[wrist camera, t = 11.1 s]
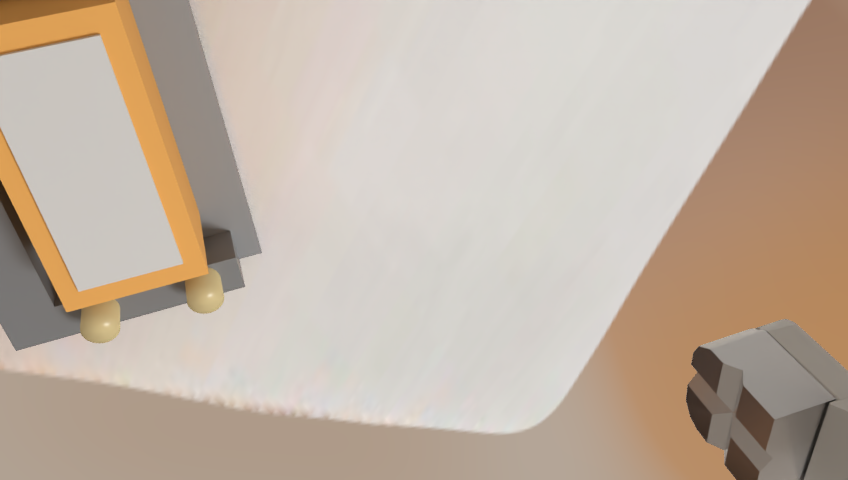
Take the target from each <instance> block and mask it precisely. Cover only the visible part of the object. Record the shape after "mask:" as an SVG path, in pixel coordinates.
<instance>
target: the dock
mask: <svg viewBox="0 0 848 480" xmlns="http://www.w3.org/2000/svg"><path fill="white" fill-rule="evenodd" d="M129 3H130V6H131V9H132V12H133V15H134V18H135V21H136V24H137V27H138V30H139V33H140V36H141V39H142V42H143V45H144V48H145V51H146V54H147V57H148V60H149V63H150V66H151V69H152V72H153V75H154V78H155V81H156V84H157V87H158V90H159V93H160V96H161V99H162V102H163V105H164V108H165V111H166V114H167V117H168V120H169V123H170V126H171V129H172V132H173V135H174V138H175V141H176V144H177V147H178V150H179V153H180V156H181V159H182V162H183V165H184V168H185V171H186V174H187V177H188V180H189V183H190V186H191V189H192V192H193V195H194V198H195V201H196V204H197V207H198V210H199V213H200V220H201V226H202V233H203V239H204V246H205V252H206V259H207V266H208V272H209V274H206V275H202V276H199V277H195V278H191V279H188V280H184V281H180V282H177V283H173V284H169V285H166V286H162V287H158V288H155V289H151V290H147V291H144V292H140V293H136V294H133V295H129V296H125V297H122V298H118V299H114V300H111V301H107V302H103V303H100V304H96V305H92V306H89V307H85V308H81V309H78V310H74V311H70V312H66V310H65V308H64V306H63V304H62V302H61V300H60V298H59V296H58V294H57V292H56V290H55V288H54V286H53V284H52V282H51V280H50V278H49V276H48V274H47V272H46V270H45V268H44V266H43V264H42V262H41V260H40V258H39V256H38V254H37V252H36V250H35V248H34V246H33V244H32V242H31V240H30V238H29V236H28V234H27V232H26V230H25V228H24V226H23V224H22V222H21V220H20V218H19V216H18V214H17V212H16V210H15V208H14V206H13V204H12V202H11V200H10V198H9V196H8V194H7V192H6V190H5V188H4V186H3V184H2V182H1V180H0V324H1V325H2V327H3V329H4V331H5V332H6V334H7V336H8V338H9V339H10V341H11V343H12V345H13V346H14V348H15V350H16V351H17V350H21V349H24V348H28V347H32V346H35V345H39V344H42V343H46V342H49V341H53V340H57V339H60V338H64V337H67V336H71V335H74V334H78V333H81V334H82V336H83V337H84V338H85V339H86V340H88V341H90V342H93V343H105V342H109V341H111V340H113V339H114V338H115V337H116V336H117V335H118V334H119V331H120V322H121V321H124V320H128V319H131V318H135V317H139V316H142V315H146V314H149V313H153V312H156V311H160V310H164V309H167V308H171V307H174V306H178V305H181V304H185V303H187V304H188V306H189V307H190V309H192V310H193V311H195V312H197V313H203V314H204V313H211V312H213V311H215V310H217V309H218V308H219V307H220V306H221V305H222V304H223V301H224V292H228V291H231V290H235V289H238V288H242V287H245V284H244V280H243V275H242V271H241V266H240V261H239V259H241V258H244V257H248V256H252V255H255V254H259V253H262V252H261V248H260V245H259V241H258V238H257V234H256V231H255V227H254V224H253V221H252V217H251V214H250V210H249V207H248V203H247V200H246V196H245V193H244V190H243V186H242V183H241V179H240V176H239V172H238V169H237V166H236V162H235V159H234V155H233V152H232V148H231V145H230V141H229V138H228V135H227V131H226V128H225V124H224V121H223V117H222V114H221V111H220V107H219V104H218V100H217V97H216V93H215V90H214V86H213V83H212V80H211V76H210V73H209V69H208V66H207V62H206V59H205V56H204V52H203V49H202V45H201V42H200V38H199V35H198V31H197V28H196V25H195V21H194V18H193V14H192V11H191V7H190V4H189V1H188V0H129Z"/></svg>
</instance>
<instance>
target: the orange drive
mask: <svg viewBox="0 0 848 480" xmlns="http://www.w3.org/2000/svg"><path fill="white" fill-rule="evenodd" d="M0 180H1V182H2V184H3V186H4V188H5V190H6V192H7V194H8V196H9V198H10V200H11V202H12V204H13V206H14V208H15V210H16V212H17V214H18V216H19V218H20V220H21V222H22V224H23V226H24V228H25V230H26V232H27V234H28V236H29V238H30V240H31V242H32V244H33V246H34V248H35V250H36V252H37V254H38V256H39V258H40V260H41V262H42V264H43V266H44V268H45V270H46V272H47V274H48V276H49V278H50V280H51V282H52V284H53V286H54V288H55V290H56V292H57V294H58V296H59V298H60V300H61V302H62V304H63V306H64V308H65V310H66V312H70V311H74V310H78V309H81V308H85V307H89V306H92V305H96V304H100V303H103V302H107V301H111V300H114V299H118V298H122V297H125V296H129V295H133V294H136V293H140V292H144V291H147V290H151V289H155V288H158V287H162V286H166V285H169V284H173V283H177V282H180V281H184V280H188V279H191V278H195V277H199V276H202V275H206V274H209V272H208V266H207V259H206V252H205V246H204V239H203V233H202V226H201V220H200V213H199V210H198V207H197V204H196V201H195V198H194V195H193V192H192V189H191V186H190V183H189V180H188V177H187V174H186V171H185V168H184V165H183V162H182V159H181V156H180V153H179V150H178V147H177V144H176V141H175V138H174V135H173V132H172V129H171V126H170V123H169V120H168V117H167V114H166V111H165V108H164V105H163V102H162V99H161V96H160V93H159V90H158V87H157V84H156V81H155V78H154V75H153V72H152V69H151V66H150V63H149V60H148V57H147V54H146V51H145V48H144V45H143V42H142V39H141V36H140V33H139V30H138V27H137V24H136V21H135V18H134V15H133V12H132V9H131V6H130V3H129V0H0Z"/></svg>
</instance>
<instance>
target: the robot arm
mask: <svg viewBox="0 0 848 480" xmlns="http://www.w3.org/2000/svg"><path fill="white" fill-rule="evenodd" d="M691 365H692V366H693V367H694V368H695V369H696V371H697V374H696V375H695V377H693V379H692V380H691V381H690V383H689V384H688V387H687V396H686V402H687V406H688V410H689V414H690V417H691V419H692V421H693V422H694V424H695V427H696V428H697V430H698V431H699V433H700V434H701V435H702V437H703V438H704V439H705V441H706V442H707V443H710V444H712V445H714V446H716V447H719V448H720V449H723V450H724V451H725V453H724V454H725V466H726V467H727V469H728V470H729V471H730V472H731V474H732V475H733V476H734V477H735V479H736V480H848V371H847V370H846V369H845V368H844V367H843V366H842V365H841V364H840V363H839V362H837V361H836V360H835V359H834V358H833V357H832V356H831V355H830V354H829V353H828V352H826V351H825V350H824V349H823V348H822V347H821V346H820V345H819V344H818V343H817V342H816V341H814V340H813V339H812V338H811V337H810V336H809V335H808V334H807V333H806V332H805V331H803V330H802V329H801V328H800V327H799V326H798V325H797V324H796V323H794V322H792V321H790V320H787V319H783V320H779V321H776V322H773V323H771V324H768V325H764V326H761V327H758V328H756V329H749V330H746V331H743V332H740V333H737V334H734V335H731V336H728V337H725V338H722V339H719V340H716V341H713V342H710V343H707V344H704V345H701V346H699V347H698V348H697V349H696V350H695V351H694V353H693V358H692V363H691Z"/></svg>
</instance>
